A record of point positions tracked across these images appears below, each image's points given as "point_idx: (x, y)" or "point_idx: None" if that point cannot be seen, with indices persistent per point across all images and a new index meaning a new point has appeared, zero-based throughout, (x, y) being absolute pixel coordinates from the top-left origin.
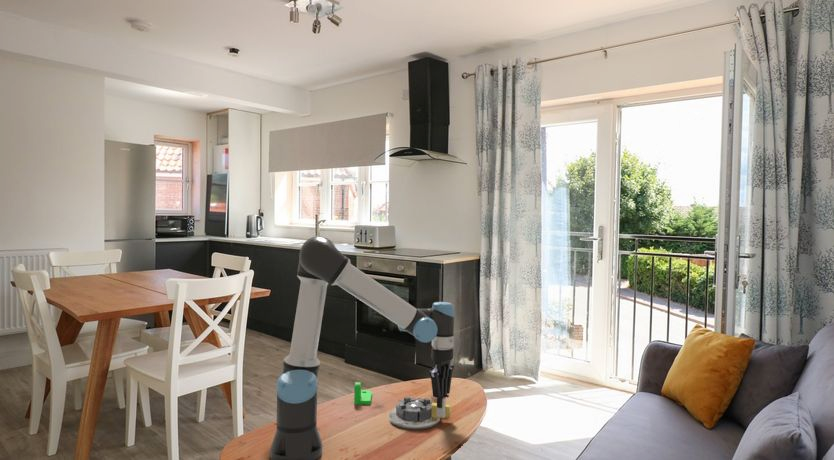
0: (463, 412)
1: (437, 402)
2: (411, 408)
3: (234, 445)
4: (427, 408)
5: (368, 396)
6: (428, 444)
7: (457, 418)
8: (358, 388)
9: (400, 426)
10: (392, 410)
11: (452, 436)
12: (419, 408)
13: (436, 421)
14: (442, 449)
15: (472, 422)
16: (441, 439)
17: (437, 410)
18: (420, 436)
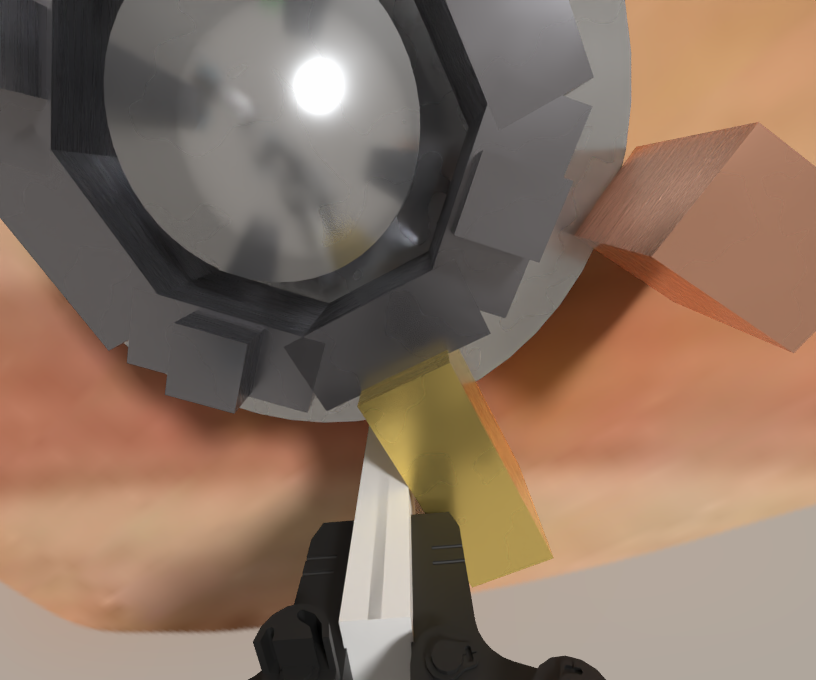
0: (754, 419)
1: (301, 595)
2: (134, 177)
3: None
4: (297, 373)
5: None
6: (73, 533)
7: (593, 449)
8: None
9: None
10: None
11: (289, 575)
12: (235, 270)
13: (351, 418)
14: (105, 616)
15: (587, 560)
16: (196, 551)
17: (365, 471)
18: (103, 429)
